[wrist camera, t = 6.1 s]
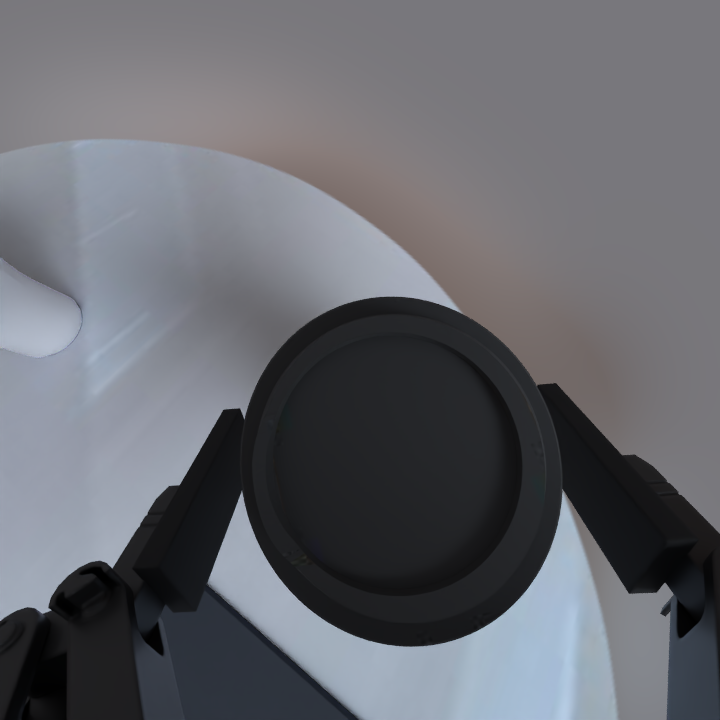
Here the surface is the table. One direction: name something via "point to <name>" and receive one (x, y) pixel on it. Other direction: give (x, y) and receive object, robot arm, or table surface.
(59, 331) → the cup
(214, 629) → the mat
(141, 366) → the table surface
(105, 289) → the table surface
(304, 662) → the table surface
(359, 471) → the coffee cup
